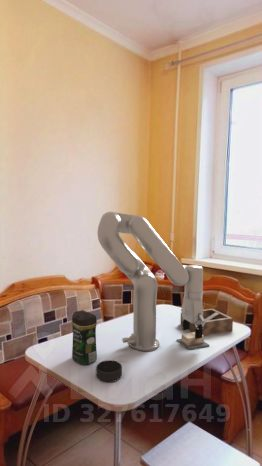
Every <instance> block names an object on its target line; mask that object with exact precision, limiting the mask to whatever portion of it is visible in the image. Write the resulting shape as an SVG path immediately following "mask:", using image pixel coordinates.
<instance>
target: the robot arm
mask: <svg viewBox="0 0 262 466" xmlns="http://www.w3.org/2000/svg"><path fill="white" fill-rule="evenodd" d="M96 233H97V239H98V242H99V244H100V246H101V248H102V249H103V250H104V251H105V253H106V254H107V256H109V258H110V259H111V261H113V262H114V264H115V265H116V266H117V268H118V270H119V271H120V272H121V273H122V274H124V275H125V276H126V277H127V278H128V279H129V281H130V282H131V283H132V285H133V305H132V306H133V307H132V308H133V309H132V310H133V317H132V318H133V323H132V324H133V328H132V330H133V333H131V336H129V337H123V338H122V340H121V341H122V343H123V344H124V343H125V344H126V343H127V344H128V345H129V346H130V347H131V348H132V349H133V350H136V351H140V352H150V351H154V350H157V349H158V348H159V347H160V341H159V339H157V327H156V326H157V295H158V294H157V293H158V281H157V278H156V276H155V274H154V273H153V272H152V271H151V270H150V268H148V266H147V265H146V264H145V262H143V260H141V258H140V256H138V254H136V252H135V251H134V250H132V249H131V248H130V247H129V246H128V245H127V244H126V242H125V241H124V240H123V238H122V237H121V236H120V234H121V233H122V234H127V235H128V234H129V235H131V236H133V238H134V239H135V240H136V242H137V243H138V244H139V245H140V247H141V248H142V249H143V251H144V252H146V253H145V254H146V255H148V257H149V258H151V260H152V261H153V262H155V263H156V264H157V265H158V266H159V268H160V269H161V270H162V272H163V273H164V274H165V275H166V277H167V279H168V280H169V281H170V282H171V283H172V285H174V286H176V287H183V286H184V295H183V299H182V306H181V309H180V311H181V312H180V313H182V317H183V318H182V320H183V326H182V330H183V331H188V330H189V328H190V323H192V324H194V323H195V326H196V329H195V338H196V339H197V338H202V329H203V327H204V326H205V323H206V321H205V319H204V318H203V310H204V306H203V305H204V304H203V292H204V291H203V290H204V286H203V285H204V284H203V283H204V267H202V266H201V265H196V264H189V265H186V264H185V265H183V263H181V262H180V260H179V259H178V257H176V255H175V254H174V253H173V251H172V250H170V248H169V247H168V245H167V244H166V243H165V241H164V240H163V239H162V237H161V236H160V234H158V233H157V231H156V230H155V228H153V226H152V225H151V223H150V222H149V221H148V220H147V219H146V217H144V216H142V215H134V214H127V213H121V212H116V211H115V212H114V211H107V212H104V213H103V214H102V216H101V218H100V220H99V223H98V226H97V232H96ZM198 323H199V324H200V325H199V326H198ZM189 331H190V330H189Z"/></svg>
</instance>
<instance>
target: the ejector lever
mask: <svg viewBox="0 0 262 466" xmlns="http://www.w3.org/2000/svg"><path fill="white" fill-rule="evenodd" d="M218 315H219V313H217V312H215V313H214V314H212V315H211V316H209V317H207V318H206V319H205V321H208V320H212V319H213V318H215V317H216V316H218Z"/></svg>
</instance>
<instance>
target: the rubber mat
mask: <svg viewBox="0 0 262 466" xmlns="http://www.w3.org/2000/svg"><path fill="white" fill-rule="evenodd" d="M176 342H178V343H179V344H180V345H182V346H183V347H184V348H185V349H187V350H188V351H191V350H196V348H197V349H201V348H202V349H203V348H207V347H210V344H209V343H207V342H206V341H204V343H199V344H194V345H186V344H185V343H183V342H182V338H178V339H176Z"/></svg>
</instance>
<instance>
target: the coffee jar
mask: <svg viewBox="0 0 262 466" xmlns="http://www.w3.org/2000/svg"><path fill="white" fill-rule="evenodd" d="M71 316H72V317H71V326H72V345H71V346H72V348H71V351H72V352H71V355H72V359H73V360H74V361H75V362H77V364H79V363H80V365H82V364H84V365H91V364H93V363H94V362H95V361H97V358H98V353H97V325H98V321H97V320H98V319H97V315H96V314H93V313H91V312H89V311H87V310H84V309H81V310H77V311H74V312H73V314H72V315H71ZM90 363H91V364H90Z"/></svg>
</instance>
